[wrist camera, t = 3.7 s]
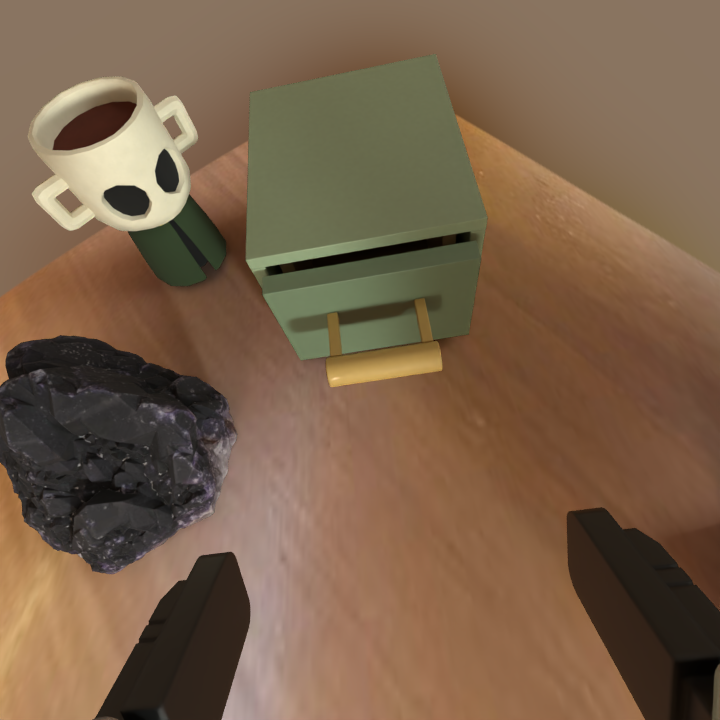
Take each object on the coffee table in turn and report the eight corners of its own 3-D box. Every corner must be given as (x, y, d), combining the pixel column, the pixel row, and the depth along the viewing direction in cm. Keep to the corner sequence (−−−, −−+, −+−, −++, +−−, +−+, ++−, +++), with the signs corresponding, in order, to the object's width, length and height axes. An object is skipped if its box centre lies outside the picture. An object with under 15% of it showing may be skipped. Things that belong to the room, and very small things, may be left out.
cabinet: (471, 318, 30) (488, 217, 22) (294, 346, 31) (245, 260, 23) (434, 174, 37) (435, 53, 29) (289, 200, 38) (249, 91, 30)
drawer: (484, 396, 27) (503, 333, 20) (303, 422, 28) (261, 370, 21) (432, 190, 35) (434, 94, 28) (294, 215, 36) (262, 129, 29)
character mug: (164, 327, 34) (27, 197, 22) (119, 280, 37) (-23, 143, 25) (268, 239, 36) (194, 82, 25) (218, 202, 39) (132, 45, 28)
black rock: (246, 557, 26) (175, 522, 18) (17, 596, 26) (-166, 579, 17) (244, 368, 33) (193, 278, 25) (65, 396, 33) (-49, 315, 24)
